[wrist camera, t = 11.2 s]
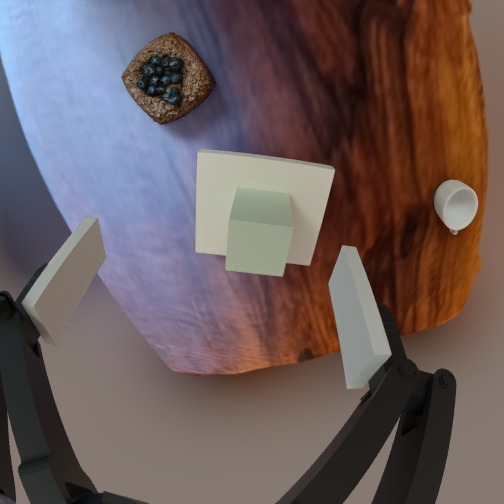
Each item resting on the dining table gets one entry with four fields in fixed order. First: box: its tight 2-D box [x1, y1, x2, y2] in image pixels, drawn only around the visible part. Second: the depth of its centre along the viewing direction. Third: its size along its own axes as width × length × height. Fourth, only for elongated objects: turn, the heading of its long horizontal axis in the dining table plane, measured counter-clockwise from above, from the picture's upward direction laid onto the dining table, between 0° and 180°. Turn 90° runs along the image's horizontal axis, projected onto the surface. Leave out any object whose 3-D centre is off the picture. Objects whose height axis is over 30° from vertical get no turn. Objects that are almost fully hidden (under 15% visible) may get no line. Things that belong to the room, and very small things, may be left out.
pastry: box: [121, 33, 216, 125], centre depth 31 cm, size 11×12×6 cm
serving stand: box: [196, 149, 335, 266], centre depth 42 cm, size 16×18×4 cm
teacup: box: [434, 180, 478, 235], centre depth 39 cm, size 10×8×5 cm
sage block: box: [225, 187, 294, 277], centre depth 37 cm, size 7×7×9 cm
